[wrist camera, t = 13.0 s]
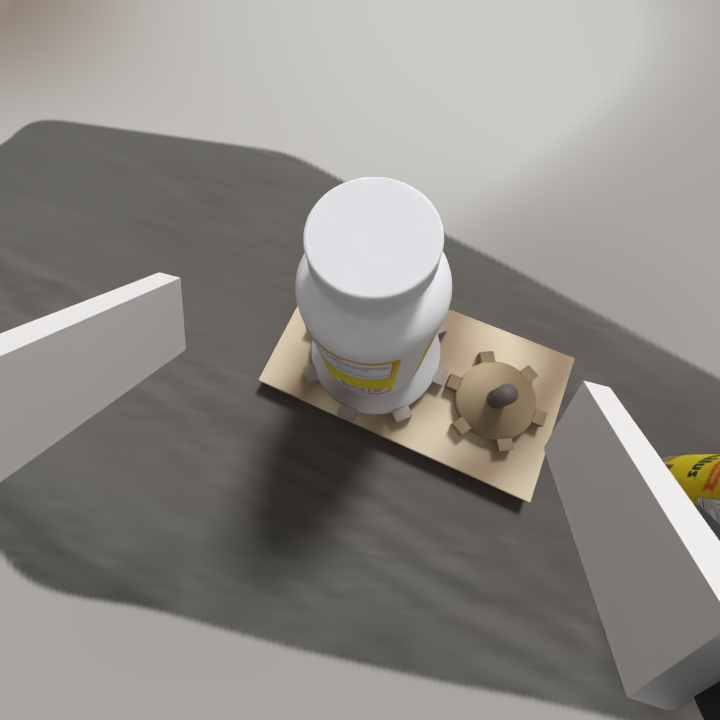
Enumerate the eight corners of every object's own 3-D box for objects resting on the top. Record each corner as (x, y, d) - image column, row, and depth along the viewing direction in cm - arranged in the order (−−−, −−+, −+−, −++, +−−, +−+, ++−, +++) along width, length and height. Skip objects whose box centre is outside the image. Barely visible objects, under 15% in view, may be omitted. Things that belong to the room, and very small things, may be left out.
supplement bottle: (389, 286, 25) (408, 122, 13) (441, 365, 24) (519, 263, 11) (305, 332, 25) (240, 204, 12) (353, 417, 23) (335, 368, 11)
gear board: (262, 382, 26) (245, 369, 22) (323, 266, 28) (316, 237, 24) (523, 500, 23) (552, 508, 20) (566, 362, 26) (599, 345, 22)
